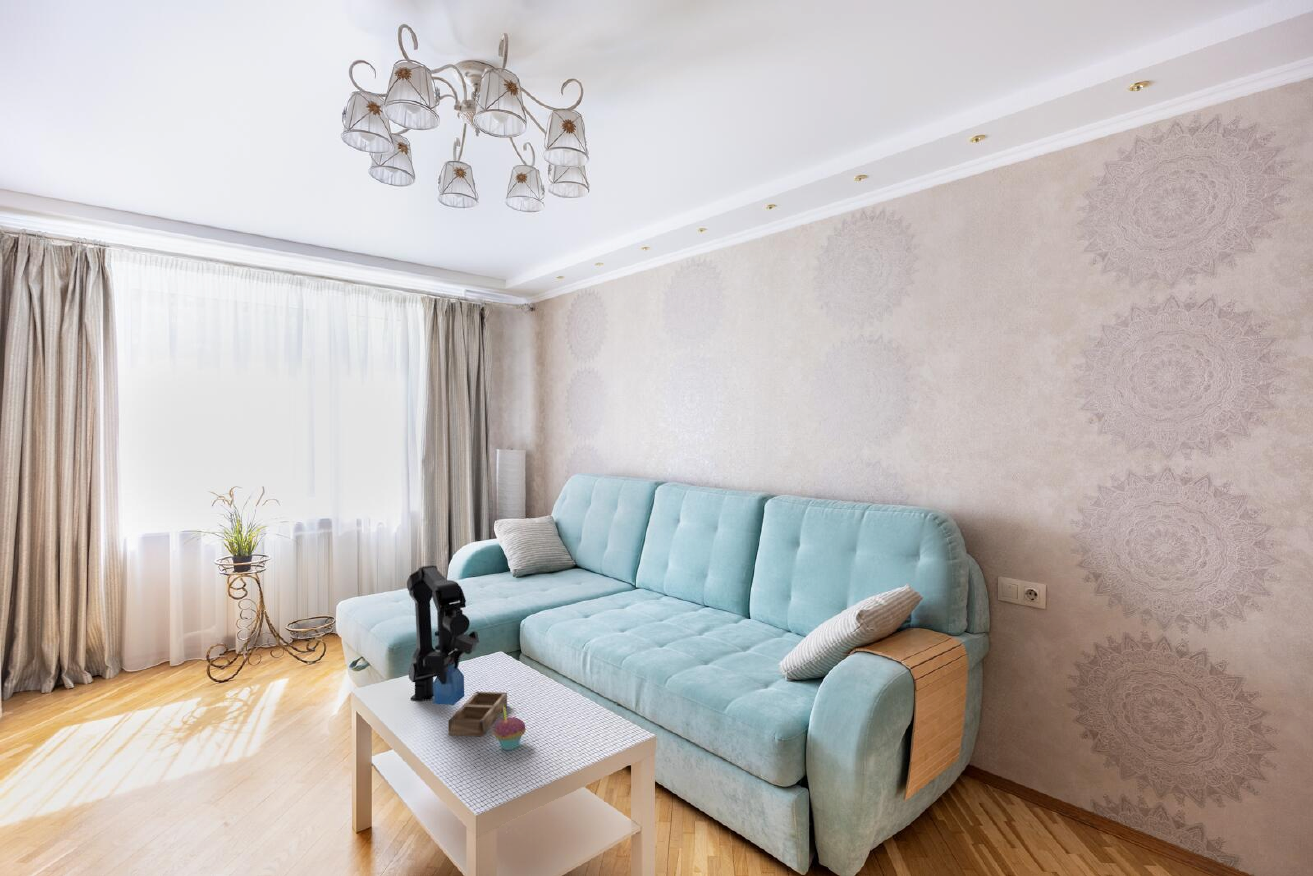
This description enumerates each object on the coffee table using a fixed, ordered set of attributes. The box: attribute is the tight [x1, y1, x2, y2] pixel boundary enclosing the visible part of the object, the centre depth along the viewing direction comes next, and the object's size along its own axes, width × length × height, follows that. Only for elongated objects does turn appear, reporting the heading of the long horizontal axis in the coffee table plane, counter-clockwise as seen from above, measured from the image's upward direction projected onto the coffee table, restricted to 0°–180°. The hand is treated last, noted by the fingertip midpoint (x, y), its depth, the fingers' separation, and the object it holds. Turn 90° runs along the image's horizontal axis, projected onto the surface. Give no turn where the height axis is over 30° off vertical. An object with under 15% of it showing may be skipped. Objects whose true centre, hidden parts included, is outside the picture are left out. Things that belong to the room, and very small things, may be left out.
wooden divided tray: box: [447, 691, 508, 737], centre depth 182 cm, size 20×10×4 cm, turn 173°
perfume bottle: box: [433, 657, 465, 706], centre depth 179 cm, size 6×6×12 cm
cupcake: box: [493, 705, 527, 751], centre depth 167 cm, size 9×8×12 cm
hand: (448, 679), depth 179 cm, fingers closed on perfume bottle, 6 cm apart
